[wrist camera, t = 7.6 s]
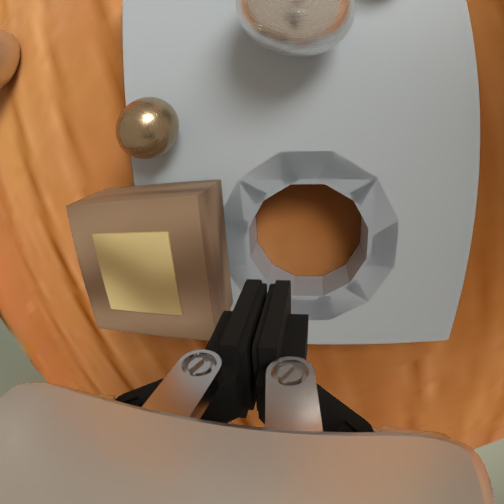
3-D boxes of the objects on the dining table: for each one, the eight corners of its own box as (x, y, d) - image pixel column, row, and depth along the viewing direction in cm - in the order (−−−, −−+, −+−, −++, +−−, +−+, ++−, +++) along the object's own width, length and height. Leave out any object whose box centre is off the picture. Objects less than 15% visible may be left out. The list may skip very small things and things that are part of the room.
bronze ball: (133, 103, 19) (101, 103, 15) (186, 93, 18) (160, 89, 15) (138, 158, 20) (107, 167, 17) (191, 152, 20) (166, 159, 16)
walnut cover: (105, 189, 21) (64, 206, 17) (221, 179, 20) (196, 196, 15) (127, 296, 24) (97, 329, 20) (233, 302, 23) (216, 342, 19)
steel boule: (244, -15, 15) (219, -59, 9) (342, -19, 14) (352, -66, 8) (250, 68, 17) (225, 47, 11) (353, 66, 16) (371, 43, 10)
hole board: (142, -9, 18) (123, -20, 15) (442, -21, 14) (457, -35, 11) (176, 315, 28) (164, 335, 26) (437, 319, 24) (448, 339, 21)
